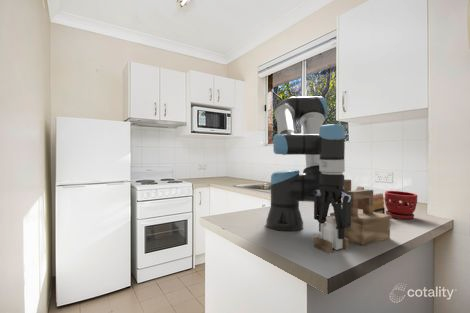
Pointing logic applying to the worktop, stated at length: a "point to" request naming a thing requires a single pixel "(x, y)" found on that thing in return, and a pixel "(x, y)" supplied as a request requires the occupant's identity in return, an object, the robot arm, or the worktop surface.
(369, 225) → the open wooden box
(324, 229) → the pepper shaker
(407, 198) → the plant pot
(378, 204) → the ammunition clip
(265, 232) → the worktop surface
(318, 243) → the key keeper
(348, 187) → the wooden block
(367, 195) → the wooden post stand
